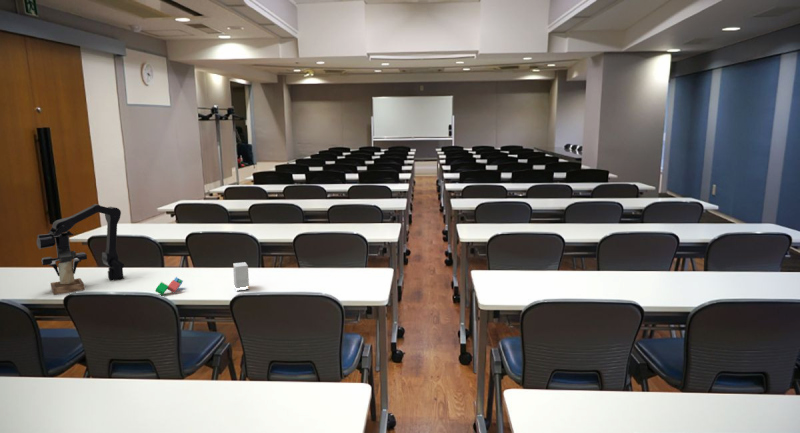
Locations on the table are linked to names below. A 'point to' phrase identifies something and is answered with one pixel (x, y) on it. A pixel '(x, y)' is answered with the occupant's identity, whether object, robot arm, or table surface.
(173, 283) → the building blocks
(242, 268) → the small box
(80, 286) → the brown square frame
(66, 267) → the box
